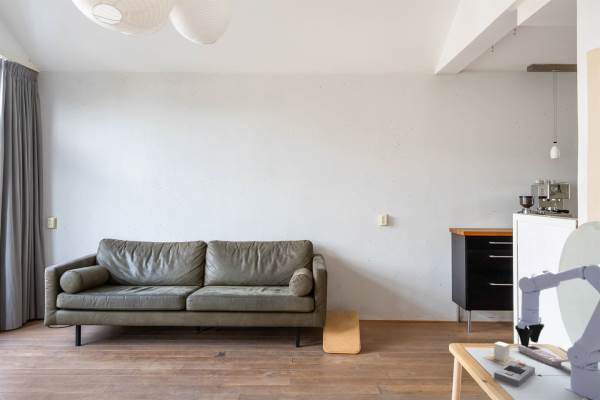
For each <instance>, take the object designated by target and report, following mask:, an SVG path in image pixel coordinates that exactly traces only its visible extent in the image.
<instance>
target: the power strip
mask: <svg viewBox="0 0 600 400" xmlns="http://www.w3.org/2000/svg"><path fill="white" fill-rule="evenodd" d="M535 373H536V366H535V367H533V366H531V365H527V364H526V362H524V361H523V362H522V361H519V362H515V361H512V360H511V361H510V362H508V363H507V364H505V365H502V366H501V367H500V368H498V369H496V370H495V371H494V372H493V379H495V380H498V381H501V382H503V383H506V384H509V385H511V386H515V387H517V388H520V386H521V385H523V384H524V383H525V382H527V381H528V380H529V379H530V378H532V376H533V375H535Z"/></svg>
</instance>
